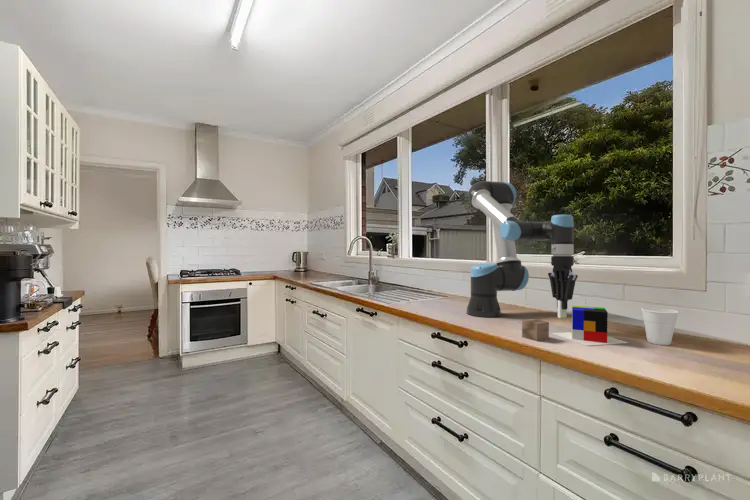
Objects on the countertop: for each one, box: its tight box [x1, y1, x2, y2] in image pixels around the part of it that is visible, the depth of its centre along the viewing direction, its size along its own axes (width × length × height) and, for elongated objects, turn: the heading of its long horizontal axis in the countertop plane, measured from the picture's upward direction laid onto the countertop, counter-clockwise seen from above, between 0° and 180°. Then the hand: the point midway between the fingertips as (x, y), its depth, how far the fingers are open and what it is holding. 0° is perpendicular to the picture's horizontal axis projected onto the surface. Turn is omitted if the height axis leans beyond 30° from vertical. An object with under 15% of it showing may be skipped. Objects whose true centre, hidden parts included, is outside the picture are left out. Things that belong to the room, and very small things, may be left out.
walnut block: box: [521, 318, 550, 342], centre depth 124 cm, size 6×6×6 cm
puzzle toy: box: [571, 305, 608, 343], centre depth 124 cm, size 10×10×10 cm
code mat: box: [551, 331, 629, 347], centre depth 124 cm, size 16×16×1 cm
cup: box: [640, 306, 680, 346], centre depth 118 cm, size 10×10×11 cm
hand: (562, 317), depth 136 cm, fingers closed
